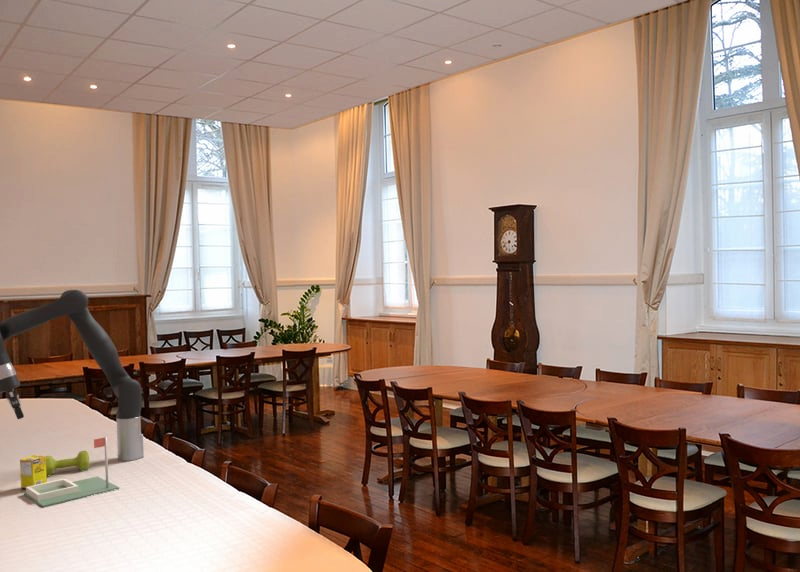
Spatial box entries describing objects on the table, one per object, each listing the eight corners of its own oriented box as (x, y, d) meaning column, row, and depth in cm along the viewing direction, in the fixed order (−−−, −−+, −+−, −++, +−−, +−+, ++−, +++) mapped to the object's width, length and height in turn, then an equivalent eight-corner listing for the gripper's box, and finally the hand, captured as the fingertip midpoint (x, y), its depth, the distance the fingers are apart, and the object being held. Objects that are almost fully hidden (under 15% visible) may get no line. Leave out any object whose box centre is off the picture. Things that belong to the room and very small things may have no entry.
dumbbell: (42, 478, 255) (42, 459, 255) (42, 473, 262) (41, 454, 262) (90, 471, 263) (89, 452, 263) (88, 466, 270) (87, 448, 270)
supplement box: (47, 485, 246) (46, 455, 245) (33, 490, 240) (32, 460, 240) (34, 484, 248) (33, 454, 247) (20, 489, 242) (19, 459, 242)
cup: (97, 477, 254) (95, 428, 253) (119, 489, 239) (117, 436, 239) (24, 494, 236) (22, 441, 236) (43, 507, 222) (41, 451, 221)
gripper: (16, 372, 245) (32, 414, 246) (16, 374, 258) (31, 414, 258) (-7, 380, 242) (9, 422, 242) (-6, 382, 254) (10, 422, 254)
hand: (21, 418), depth 250 cm, fingers open, 8 cm apart
